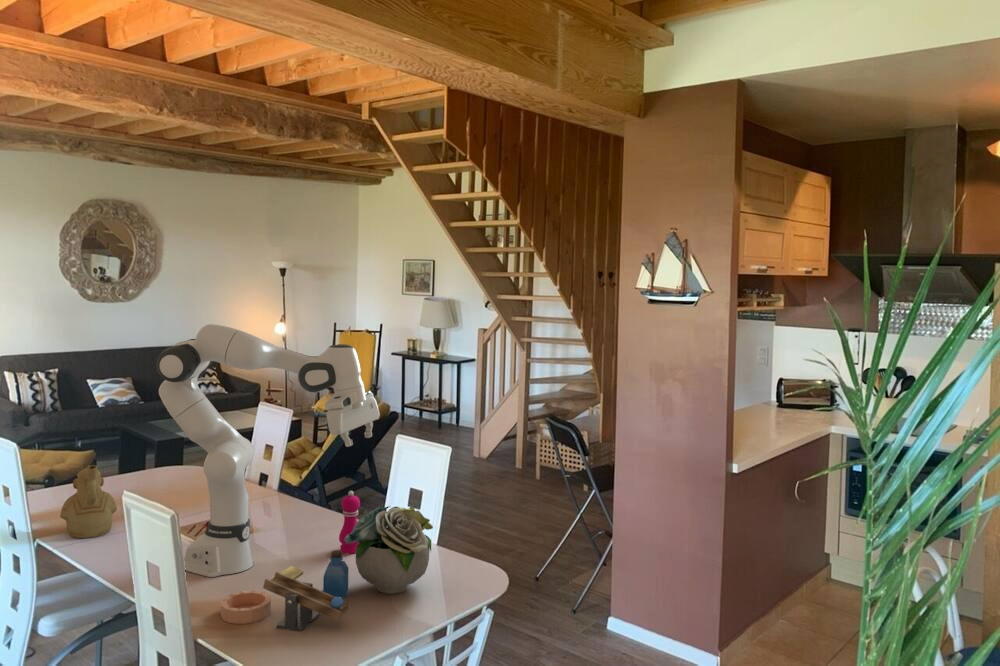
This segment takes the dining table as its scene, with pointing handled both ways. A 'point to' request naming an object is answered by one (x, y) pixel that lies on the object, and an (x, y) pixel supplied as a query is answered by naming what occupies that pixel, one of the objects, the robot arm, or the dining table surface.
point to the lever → (304, 593)
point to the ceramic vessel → (88, 506)
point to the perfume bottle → (336, 576)
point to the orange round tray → (245, 607)
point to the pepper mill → (349, 522)
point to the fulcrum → (296, 614)
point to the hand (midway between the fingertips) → (359, 441)
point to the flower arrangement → (391, 547)
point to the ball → (337, 602)
